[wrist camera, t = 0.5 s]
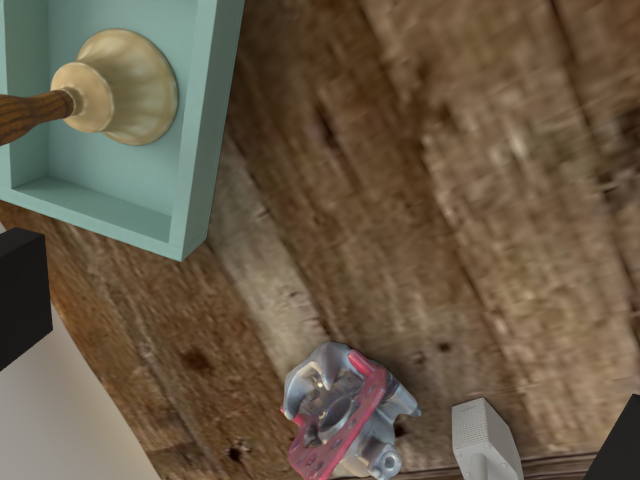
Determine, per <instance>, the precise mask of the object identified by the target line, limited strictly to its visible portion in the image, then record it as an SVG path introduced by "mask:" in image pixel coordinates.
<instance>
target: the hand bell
mask: <svg viewBox="0 0 640 480" xmlns="http://www.w3.org/2000/svg"><path fill="white" fill-rule="evenodd" d="M178 99H179V95H178V88H177V82H176V79H175V76H174V73H173V71H172V68H171V66H170V64H169V62H168V61H167V59H166V58H165V56H164V55H163V53H162V52H161V51H160V50H159V49H158V48H157V47H156V46H155V45H154V44H153V43H152V42H151V41H150V40H148V39H147V38H145V37H144V36H142V35H140V34H138V33H136V32H134V31H131V30H127V29H122V28H111V29H106V30H102V31H100V32H98V33H96V34H94V35H93V36H91V37H90V38H89V39H88V40H87V41H86V42H85V44H84V45H83V46H82V48H81V49H80V51H79V53H78V55H77V57H76V60H75V62H71V63H68V64H65V65H64V66H62V67H61V68H60V69H59V70H58V71H57V72H56V73H55V75H54V77H53V80H52V83H51V91H50V92H46V93H42V94H39V95H35V96H31V97H18V96H12V95H6V94H0V146H3V145H5V144H8V143H11V142H13V141H15V140H17V139H19V138H21V137H22V136H24V135H25V134H27V133H28V132H29V131H30V130H31V129H33V128H34V127H35V126H37V125H38V124H41V123H45V122H49V121H54V120H58V119H63V120H64V121H65V122H66V123H67V124H68V125H69V126H71V127H72V128H74V129H76V130H78V131H81V132H85V133H97V132H101V133H102V134H104V135H105V136H107V137H108V138H110V139H112V140H114V141H117V142H119V143H122V144H125V145H132V146H141V145H146V144H150V143H153V142H155V141H157V140H158V139H160V138H161V137H162V136H164V135H165V133H167V131H168V130H169V129H170V127H171V126H172V124H173V122H174V119H175V116H176V113H177V109H178Z"/></svg>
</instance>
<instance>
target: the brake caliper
mask: <svg viewBox="0 0 640 480" xmlns="http://www.w3.org/2000/svg"><path fill="white" fill-rule="evenodd" d="M284 393H285V395H284V403H283V405H282V406H281V407H280V410H281V412H282V413H283V414H285V416H286V417H287V418H288V419H289V420H292V421H294V422H295V423H296V424H297V425H298V426H299V429H298V433H297V436H296V438H295V439H294V441H293V443H292V444H291V446H290V449H289V452H288V458H289V460H290V463H291V465H292V466H293V467H294V468H295V469H296V471H297V472H298V473H300V474H301V475H302V476H303V478H304V479H305V480H327V479H328V478H329V476H330V475H331V473H332V472H333V470H334V468H335V467H336V465H337V464H338V463H339V464H341V465H342V466H344V467H345V468H346V469H348V470H349V471H350V472H351V473H352V474H354V475H355V476H358V477H366V476H369V475H372V476H373V477H375V478H376V479H377V480H390V478H391V477H393V476H394V475H396V474H397V473H398V472H399V470H400V468H401V466H402V461H401V457H400V455H399V453H398V451H397V450H396V448H395V447H394V444H395V433H394V429H393V423H394V421H395V419H396V417H397V416H398V415H399V414H401V413H404V414H407V415H410V416H412V417H415V418H418V417H420V416H421V410H420V408H419V406H418V404H417V402H416V400H415V398H414V397H413V396H412V395H411V394H410V393H409V392H408V391H407V389H406V388H405V387H404V386H403V385H402V384H401V383H400V382H399V381H398V380H397V379H396V378H395V377H394V376H393V375H392V374H391V373H390V372H389V371H388V370H387V369H386V368H385V367H384V366H383V365H381V364H380V363H379V362H377V361H375V360H368V359H367V358H365V357H364V356H363V355H362V354H361V353H360V352H358V351H357V350H355V349H350V348H349V347H348V346H347V345H346V344H344V343H337V342H326V343H324V344H322V345H321V346H320V347H318V348H317V349H316V350H314V351H313V353H312V354H311V355H310V356H309V357H308V358H307V359H306V360H305V361H304V362H302V363H301V364H299V365H298V366H296V367H295V368H293V369H292V370H291V371H290V372H289V373H288V374H287V376H286V381H285V390H284ZM310 443H311V444H312V445H313V446H315V447H310V448H308V446H309V444H310ZM314 460H315V461H314Z"/></svg>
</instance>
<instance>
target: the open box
mask: <svg viewBox="0 0 640 480" xmlns="http://www.w3.org/2000/svg"><path fill="white" fill-rule="evenodd" d="M244 3H245V0H0V94H6V95H12V96H18V97H31V96H35V95H39V94H42V93H46V92H50V91H51V83H52V80H53V77H54V75H55V73H56V72H57V71H58V70H59V69H60V68H61V67H62V66H64V65H65V64H68V63H71V62H75V60H76V57H77V55H78V53H79V51H80V49H81V48H82V46H83V45H84V44H85V42H86V41H87V40H88V39H89V38H90V37H91V36H93V35H94V34H96V33H98V32H100V31H102V30H106V29H111V28H122V29H127V30H131V31H134V32H136V33H138V34H140V35H142V36H144V37H145V38H147V39H148V40H150V41H151V42H152V43H153V44H154V45H155V46H156V47H157V48H158V49H159V50H160V51H161V52H162V53H163V55H164V56H165V58H166V59H167V61H168V62H169V64H170V66H171V68H172V71H173V73H174V76H175V79H176V82H177V88H178V95H179V99H178V109H177V113H176V116H175V119H174V122H173V124H172V126H171V127H170V129H169V130H168V131H167V133H165V135H164V136H162V137H161V138H160V139H158V140H157V141H155V142H153V143H150V144H146V145H141V146H132V145H125V144H122V143H119V142H117V141H114V140H112V139H110V138H108V137H107V136H105V135H104V134H102V133H101V132H97V133H85V132H81V131H78V130H76V129H74V128H72V127H71V126H69V125H68V124H67V123H66V122H65V121H64V120H63V119H58V120H54V121H49V122H45V123H41V124H38V125H37V126H35V127H34V128H33V129H31V130H30V131H29V132H28V133H27V134H25V135H24V136H22V137H21V138H19V139H17V140H15V141H13V142H11V143H8V144H5V145H3V146H0V199H1V200H4V201H7V202H10V203H13V204H15V205H18V206H21V207H24V208H27V209H30V210H33V211H36V212H38V213H41V214H44V215H47V216H50V217H53V218H56V219H59V220H61V221H64V222H67V223H70V224H73V225H76V226H79V227H82V228H84V229H87V230H90V231H93V232H96V233H99V234H102V235H105V236H107V237H110V238H113V239H116V240H119V241H122V242H125V243H128V244H130V245H133V246H136V247H139V248H142V249H145V250H148V251H151V252H153V253H156V254H159V255H162V256H165V257H168V258H171V259H174V260H176V261H179V262H182V261H183V260H184V259H185V258H186V257H187V256H188V255H189V254H190V253H191V252H193V251H194V250H195V249H196V248H197V247H198V246H199V245H200V244H201V243H202V242H203V241H205V240H206V238H207V232H208V225H209V219H210V213H211V207H212V201H213V194H214V188H215V182H216V176H217V170H218V163H219V157H220V151H221V145H222V139H223V133H224V126H225V120H226V114H227V108H228V102H229V95H230V89H231V83H232V77H233V71H234V65H235V58H236V52H237V46H238V40H239V34H240V27H241V21H242V15H243V9H244Z"/></svg>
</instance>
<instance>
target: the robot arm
mask: <svg viewBox="0 0 640 480" xmlns="http://www.w3.org/2000/svg"><path fill="white" fill-rule="evenodd" d="M52 330H53V325H52V314H51V302H50V291H49V280H48V269H47V257H46V246H45V235H44V234H41V233H37V232H33V231H29V230H26V229H22V228H18V227H14V228H12V229H10V230H8V231H6V232H4V233H1V234H0V371H2V370H3V369H4V368H6V367H7V366H8V365H9V364H11V363H12V362H13V361H14V360H16V359H17V358H18V357H19V356H21V355H22V354H23V353H25V352H26V351H27V350H28V349H30V348H31V347H32V346H33V345H34V344H36V343H37V342H38V341H40V340H41V339H42V338H43V337H45V336H46V335H47V334H49V333H50V332H51V331H52ZM583 480H640V395H637V394H632V396H631V398H630V399H629V401H628V403H627V405H626V406H625V408H624V410H623V411H622V413H621V415H620V417H619V418H618V420H617V422H616V423H615V425H614V427H613V429H612V430H611V432H610V434H609V435H608V437H607V439H606V441H605V442H604V444H603V446H602V447H601V449H600V451H599V453H598V454H597V456H596V458H595V459H594V461H593V463H592V465H591V466H590V468H589V470H588V471H587V473H586V475H585V477H584V478H583Z"/></svg>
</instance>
